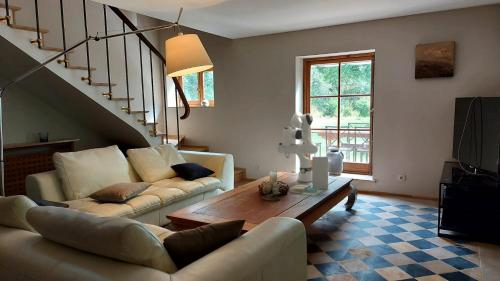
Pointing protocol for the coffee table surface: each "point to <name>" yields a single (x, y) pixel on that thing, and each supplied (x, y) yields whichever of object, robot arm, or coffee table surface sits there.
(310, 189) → the coaster
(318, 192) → the mat
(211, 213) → the coffee table surface
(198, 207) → the coffee table surface
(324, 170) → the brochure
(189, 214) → the coffee table surface
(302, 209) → the coffee table surface
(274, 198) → the owl figurine
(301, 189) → the riser
